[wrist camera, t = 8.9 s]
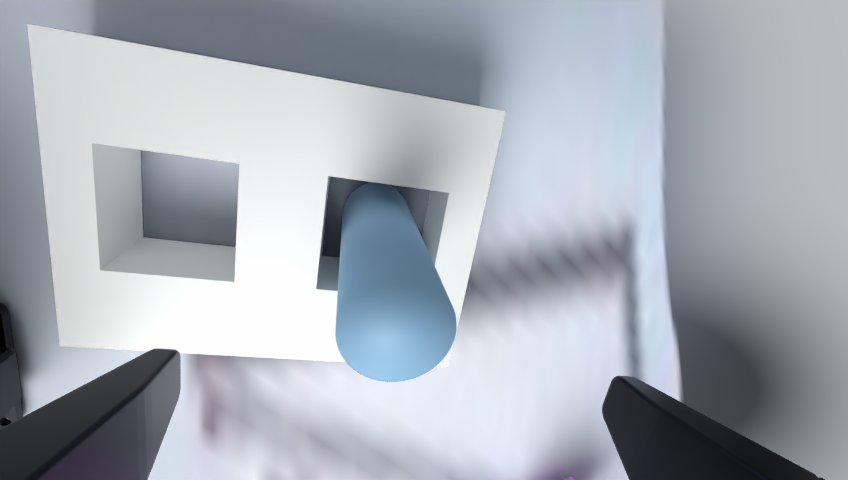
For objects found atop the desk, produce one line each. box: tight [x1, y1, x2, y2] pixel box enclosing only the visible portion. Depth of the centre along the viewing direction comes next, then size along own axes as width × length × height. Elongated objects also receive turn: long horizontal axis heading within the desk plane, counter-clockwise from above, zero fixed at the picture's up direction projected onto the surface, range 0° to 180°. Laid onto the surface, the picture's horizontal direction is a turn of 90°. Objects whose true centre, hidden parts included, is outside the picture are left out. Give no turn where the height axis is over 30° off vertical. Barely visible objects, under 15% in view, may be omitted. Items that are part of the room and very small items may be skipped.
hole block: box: [27, 24, 506, 368], centre depth 18 cm, size 15×11×4 cm
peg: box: [335, 183, 457, 382], centre depth 15 cm, size 3×3×10 cm
